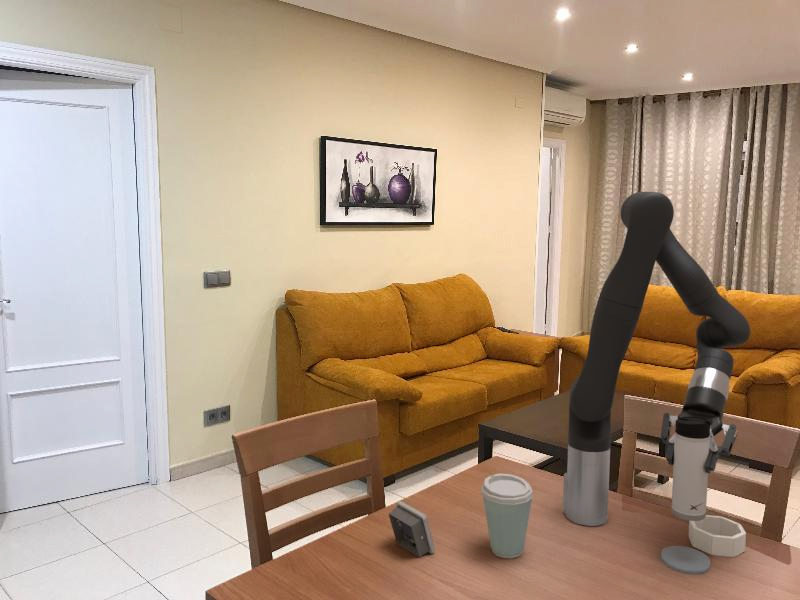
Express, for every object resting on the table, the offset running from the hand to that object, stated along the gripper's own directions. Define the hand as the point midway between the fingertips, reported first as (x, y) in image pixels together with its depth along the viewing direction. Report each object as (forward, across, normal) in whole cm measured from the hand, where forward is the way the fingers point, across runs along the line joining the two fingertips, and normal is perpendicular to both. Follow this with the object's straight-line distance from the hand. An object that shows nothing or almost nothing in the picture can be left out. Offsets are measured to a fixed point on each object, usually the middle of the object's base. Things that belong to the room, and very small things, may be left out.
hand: (688, 467), depth 125 cm
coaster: (+13, 0, +15) cm, 20 cm away
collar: (+5, +3, +24) cm, 24 cm away
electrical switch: (+35, -46, -6) cm, 58 cm away
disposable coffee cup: (+27, -30, +2) cm, 40 cm away
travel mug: (+6, 0, +9) cm, 11 cm away
